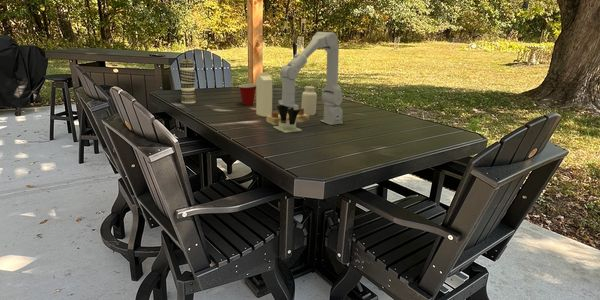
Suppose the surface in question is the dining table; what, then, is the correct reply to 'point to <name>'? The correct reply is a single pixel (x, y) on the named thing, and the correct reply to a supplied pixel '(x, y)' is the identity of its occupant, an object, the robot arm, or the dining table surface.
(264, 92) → the milk
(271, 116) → the plane body
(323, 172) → the dining table surface
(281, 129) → the rubber mat
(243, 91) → the plastic cup
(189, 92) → the decorative candle
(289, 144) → the dining table surface
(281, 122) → the lever cap
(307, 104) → the pill bottle
